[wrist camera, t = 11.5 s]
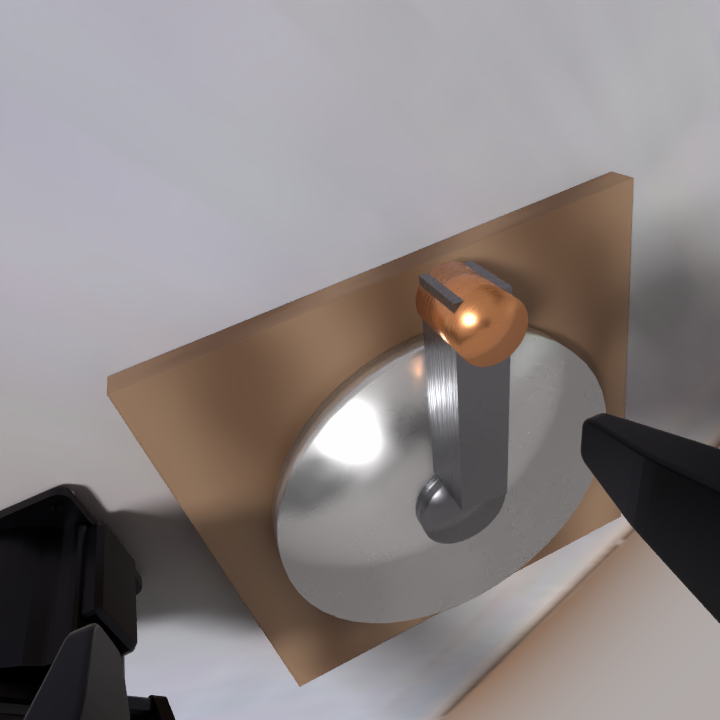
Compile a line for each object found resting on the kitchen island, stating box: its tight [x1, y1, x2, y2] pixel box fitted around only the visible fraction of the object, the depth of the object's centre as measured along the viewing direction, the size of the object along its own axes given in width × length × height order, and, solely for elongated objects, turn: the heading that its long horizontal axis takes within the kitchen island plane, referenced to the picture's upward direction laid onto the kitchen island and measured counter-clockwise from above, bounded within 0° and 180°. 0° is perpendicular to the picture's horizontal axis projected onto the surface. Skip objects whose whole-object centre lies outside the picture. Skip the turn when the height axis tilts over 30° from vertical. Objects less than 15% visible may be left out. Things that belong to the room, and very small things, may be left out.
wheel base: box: [107, 172, 633, 686], centre depth 27 cm, size 21×21×1 cm
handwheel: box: [272, 261, 606, 623], centre depth 23 cm, size 19×16×4 cm
